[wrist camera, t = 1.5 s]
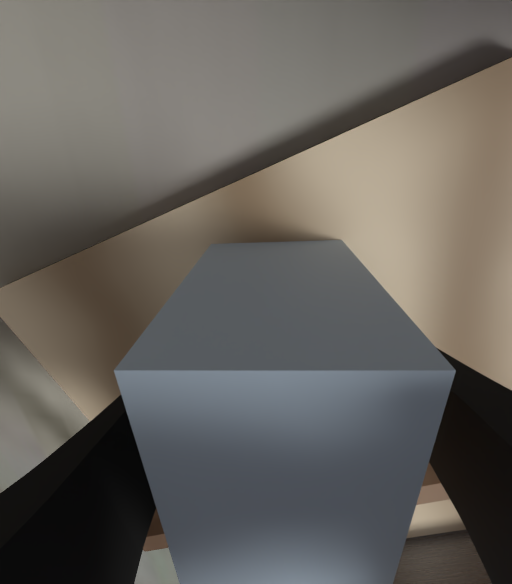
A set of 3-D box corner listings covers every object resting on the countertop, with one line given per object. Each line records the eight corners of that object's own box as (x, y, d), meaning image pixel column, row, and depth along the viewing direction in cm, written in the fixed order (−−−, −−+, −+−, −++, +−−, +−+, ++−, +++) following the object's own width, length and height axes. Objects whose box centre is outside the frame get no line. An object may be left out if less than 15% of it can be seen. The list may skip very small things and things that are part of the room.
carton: (211, 243, 9) (113, 370, 4) (343, 239, 9) (460, 370, 3) (232, 428, 12) (197, 641, 7) (328, 429, 12) (374, 654, 6)
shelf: (522, 52, 7) (667, -12, 5) (543, 504, 15) (604, 583, 12) (6, 285, 11) (-81, 325, 8) (224, 554, 18) (216, 623, 16)
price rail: (560, 515, 13) (606, 570, 12) (561, 529, 14) (604, 585, 12) (215, 566, 17) (208, 615, 15) (223, 576, 17) (217, 624, 16)
